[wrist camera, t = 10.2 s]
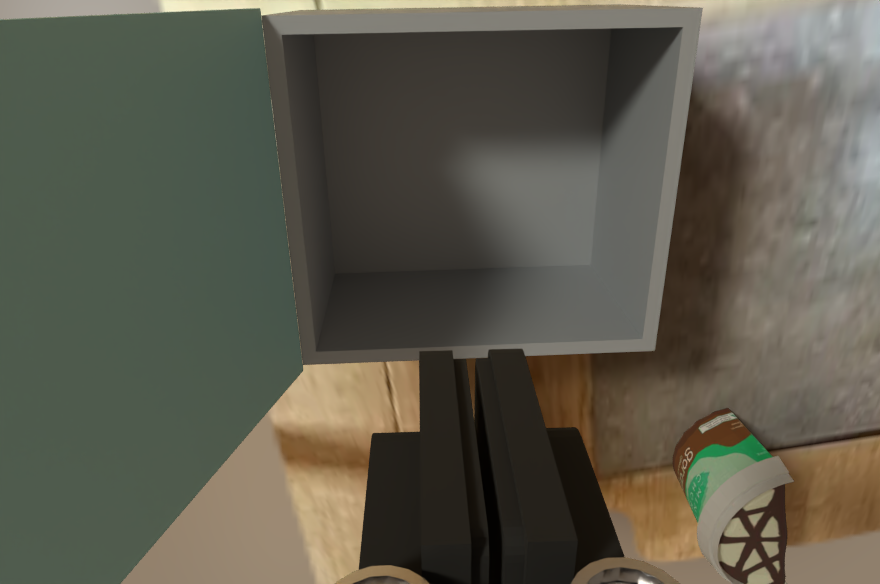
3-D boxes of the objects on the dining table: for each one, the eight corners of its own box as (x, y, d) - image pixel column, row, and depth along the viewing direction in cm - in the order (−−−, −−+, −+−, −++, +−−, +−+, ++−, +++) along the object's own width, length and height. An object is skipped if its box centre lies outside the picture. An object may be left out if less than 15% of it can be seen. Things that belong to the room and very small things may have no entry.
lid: (-399, 37, 10) (-424, 38, 10) (-29, 758, 18) (-47, 752, 18) (260, 8, 29) (247, 8, 29) (303, 370, 36) (293, 369, 37)
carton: (622, 4, 41) (702, 7, 30) (597, 270, 48) (654, 350, 37) (299, 10, 40) (261, 15, 29) (325, 279, 47) (302, 364, 36)
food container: (653, 409, 54) (704, 493, 45) (727, 393, 53) (794, 474, 44) (664, 519, 59) (712, 615, 50) (732, 505, 58) (792, 599, 49)
